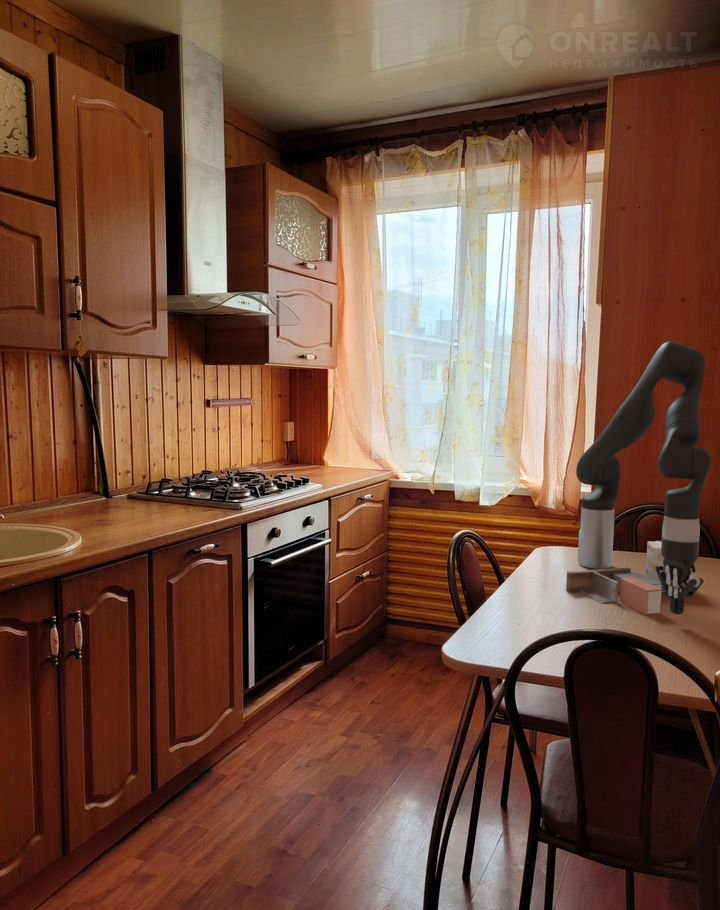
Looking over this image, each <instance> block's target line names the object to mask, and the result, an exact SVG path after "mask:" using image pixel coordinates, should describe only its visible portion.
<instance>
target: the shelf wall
mask: <svg viewBox="0 0 720 910" xmlns="http://www.w3.org/2000/svg"><path fill="white" fill-rule="evenodd" d="M631 570H632V568H629V567H618V568H617V567H616V568H607V569H589V570H588V569H587V570H572V571H567V572H566V586H565V589H566V590H565V591H566V592H567V593H578V592H579V590H586V589H591V588H592V572H597V573H599V574H601V575H604V576H606V577H608V578H610V579H612V580H613V574H620V573H632V571H631ZM579 593H580V592H579Z"/></svg>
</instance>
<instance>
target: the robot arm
mask: <svg viewBox="0 0 720 910" xmlns="http://www.w3.org/2000/svg"><path fill="white" fill-rule="evenodd" d="M705 370H706V357H705V354H704V353H703V352H702V351H701V350H698V349H696V348H693V347H690V346H687V345H684V344H682V343H679V342H676V341H666V342H664V343H662V344H661V345H660V347H659V348H658V349H657V350H656V352H655V353H654V355H653V356H652V358H651V360H650V362H649V363H648V365H647V367H646V368H645V370H644V372H643V374H642V375H641V377H640V378H639V380H638V382H637V384H636V385H635V386H634V388H633V389H632V390H631V392H630V394H629V395H628V396H627V397H626V399H625V400H624V402H623V403H622V404H621V405H620V406H619V408H618V409H617V411H616V413H615V414H614V415H613V417H612V418H611V420H610V422H609V423H608V424H607V426H606V427H605V428H604V429H603V431H602V432H601V433H600V435H599V436H598V437H597V439H596V440H595V441H594V442H593V443H592V444H591V445H590V447H588V449H586V451H585V452H584V453H583V454H582V455H581V456H580V458H579V460H578V462H577V465H576V469H575V473H576V477H577V479H578V481H579V482H580V483H582V484H583V485H587V486H595V489H593V490H592V492H590V493H588V494H585V495H584V496H583V497H582V499H581V507H580V508H581V509H580V512H581V513H580V530H579V531H578V542H577V543H578V544H577V545H578V546H577V548H578V549H577V562H578V565H580V566H582V567H583V568H589V569H593V570H599V569H612V565H613V551H614V550H613V548H614V547H613V546H614V534H615V533H614V529H615V506H616V503H617V500H618V497H619V488H620V487H619V486H620V477H621V467H620V466H621V465H620V461H619V459H618V456H616V455H617V454H619V453H620V452H622V451H624V450H625V449H627V448H629V447H631V446H633V445H634V444H635V443H637V442H638V441H639V440H640V439H642V438H643V436H644V435H645V434H647V432H648V430H649V429H650V428H651V427H652V425H653V424H654V422H655V420H656V412H657V411H656V410H657V409H656V400H655V389H656V386H657V384H658V383H659V382H660V381H661V380H665V381H668V382H671V383H674V384H676V385H680V386H682V387H683V393H681V395H680V396H678V397H677V399H675V400H674V401H673V402H672V403H671V405H670V406H669V407H668V409H667V411H666V415H665V440H664V444H663V447H662V449H661V451H660V452H659V456H658V460H657V468H658V471H659V473H660V475H662V476H663V477H664V478H667V479H671V480H672V479H674V480H675V479H676V480H677V479H678V480H691V482H689V484H688V485H687V486H685V487H680V488H673V489H669V490H667V491H666V493H665V495H664V515H663V521H662V528H661V529H662V530H661V541H662V546H661V555H662V556H663V557H664V560H663V564H662V565H661V566H656V567H655V569H656V572H657V575H658V577H659V579H660V582H661V584H662V587H663V589H664V591H667V592H666V593H668V596H669V609H670V610H669V611H670V613H672V614H673V615H683V613H684V610H685V599H686V598H692V597H693V596H694V595H695V593H696V592H697V591H698V590H699V589H700V588H701V586H702V585H703V584H704V579H703V578H702V577H701V578H699V577H698V576H697V574H696V566H695V562H696V561H697V560H698V559H699V552H700V551H699V550H700V549H699V548H700V534H701V533H700V531H701V524H700V509H701V508H700V507H701V506H700V505H701V499H702V494H703V490H704V487H705V484H706V481H707V478H708V476H709V474H710V471H711V468H712V463H713V461H712V455H711V453H710V452H709V451H708V450H707V449H705V448H704V447H696V446H697V445H698V444H699V442H700V441H701V424H700V423H701V422H700V405H701V398H702V392H703V391H702V390H703V385H704V380H705V379H704V378H705ZM681 588H682V590H681Z"/></svg>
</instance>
